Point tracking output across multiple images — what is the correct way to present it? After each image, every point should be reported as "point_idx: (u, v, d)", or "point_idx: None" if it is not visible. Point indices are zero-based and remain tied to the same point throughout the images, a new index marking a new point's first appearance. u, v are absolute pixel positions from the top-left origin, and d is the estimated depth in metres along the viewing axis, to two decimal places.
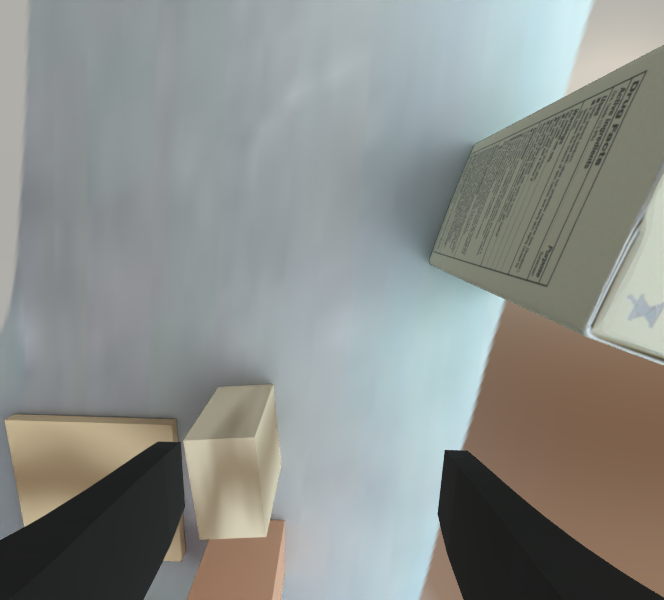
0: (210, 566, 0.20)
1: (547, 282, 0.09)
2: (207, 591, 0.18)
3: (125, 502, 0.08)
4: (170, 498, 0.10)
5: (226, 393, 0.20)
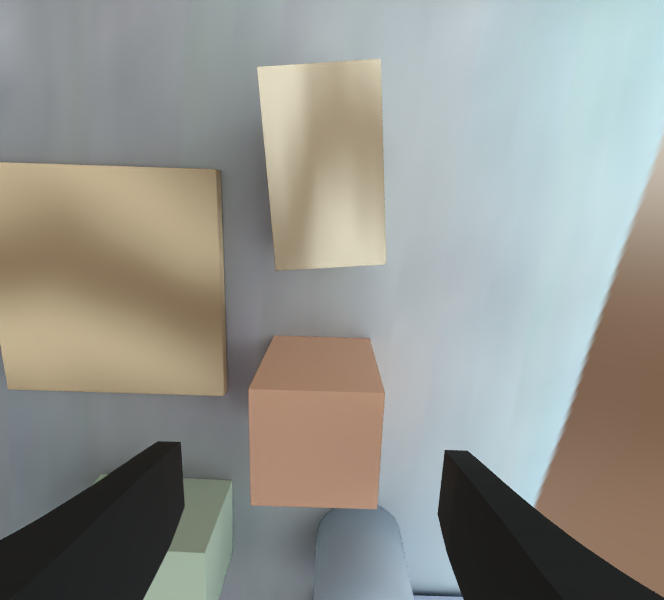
0: (277, 365, 0.13)
1: None
2: (279, 382, 0.12)
3: (125, 502, 0.08)
4: (170, 498, 0.10)
5: None
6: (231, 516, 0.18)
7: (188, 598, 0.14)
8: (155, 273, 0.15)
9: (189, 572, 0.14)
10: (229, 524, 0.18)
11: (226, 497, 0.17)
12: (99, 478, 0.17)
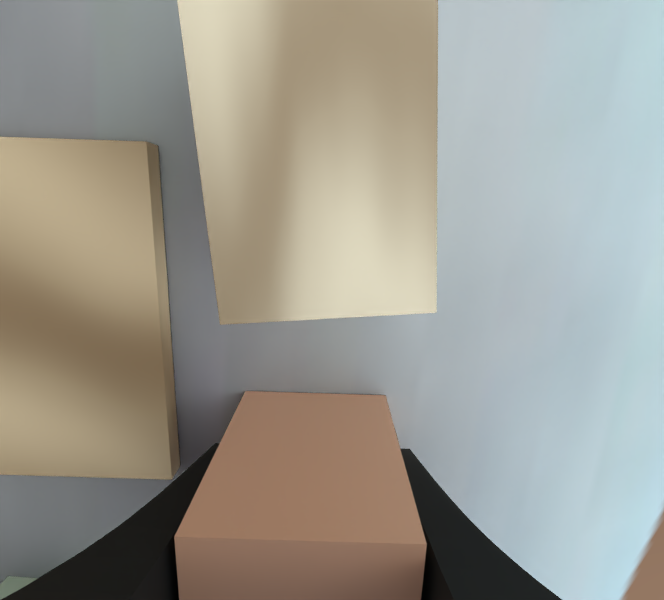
0: (238, 463, 0.08)
1: None
2: (235, 514, 0.07)
3: None
4: None
5: None
6: None
7: None
8: (60, 303, 0.10)
9: None
10: None
11: None
12: (2, 585, 0.12)
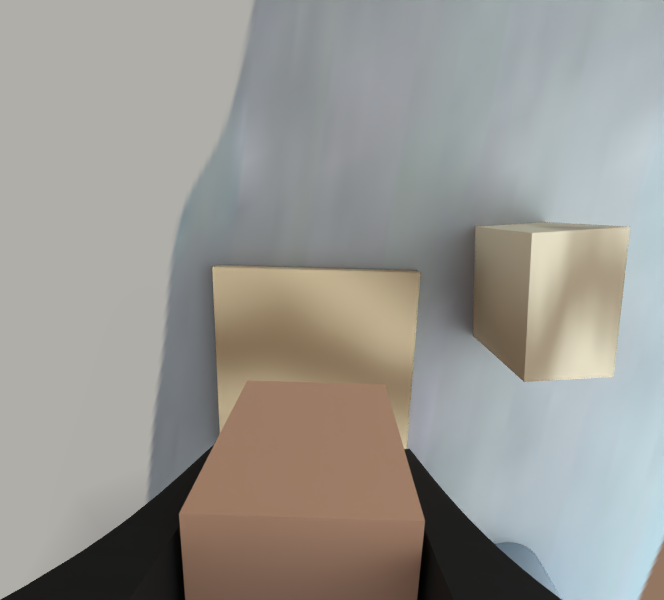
0: (240, 447, 0.08)
1: None
2: (238, 493, 0.07)
3: None
4: None
5: (498, 226, 0.16)
6: None
7: None
8: (359, 356, 0.17)
9: None
10: None
11: None
12: None
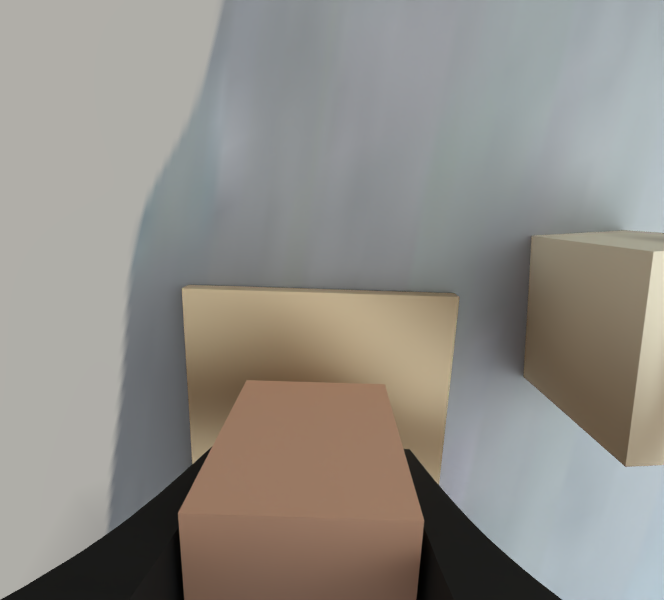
0: (240, 446, 0.08)
1: None
2: (237, 492, 0.07)
3: None
4: None
5: (567, 236, 0.12)
6: None
7: None
8: None
9: None
10: None
11: None
12: None
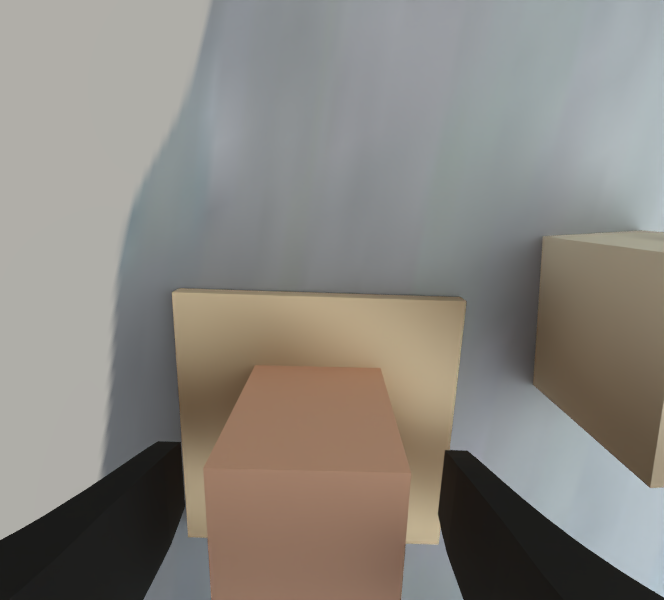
0: (252, 418, 0.09)
1: None
2: (252, 453, 0.08)
3: (125, 502, 0.08)
4: (170, 498, 0.10)
5: (581, 236, 0.11)
6: None
7: None
8: None
9: None
10: None
11: None
12: None
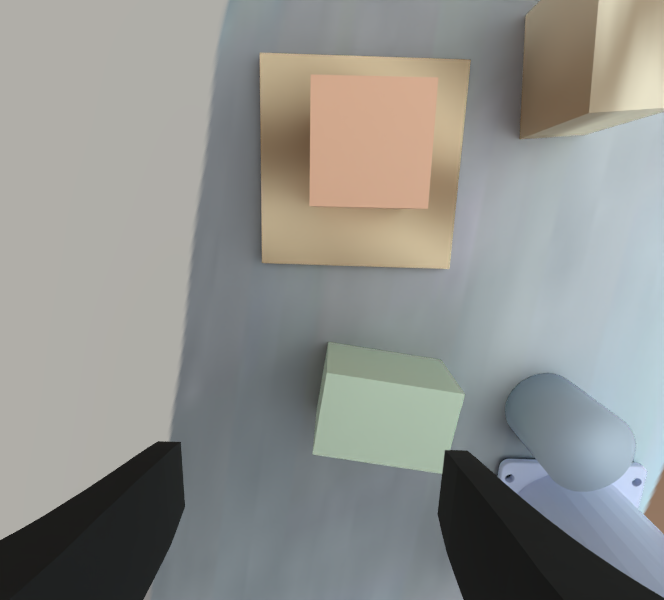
0: None
1: None
2: None
3: (126, 502, 0.08)
4: (170, 498, 0.10)
5: None
6: None
7: (438, 435, 0.17)
8: None
9: (447, 410, 0.17)
10: None
11: (445, 369, 0.19)
12: (329, 344, 0.20)
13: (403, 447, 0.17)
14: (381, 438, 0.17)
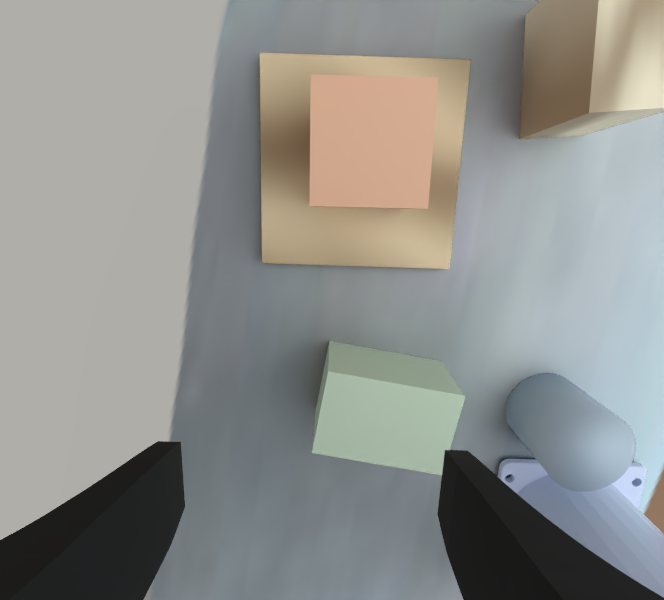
0: None
1: None
2: None
3: (126, 502, 0.08)
4: (170, 498, 0.10)
5: None
6: None
7: (438, 436, 0.17)
8: None
9: (448, 412, 0.17)
10: None
11: None
12: (330, 343, 0.20)
13: (402, 447, 0.17)
14: (380, 438, 0.17)
